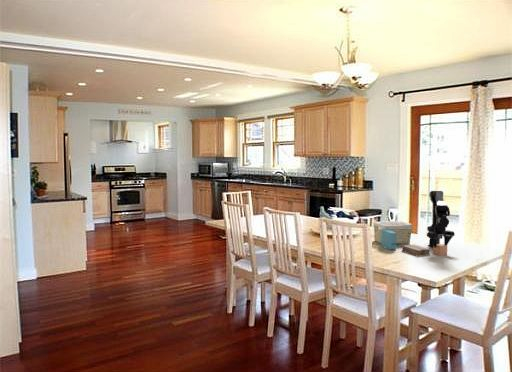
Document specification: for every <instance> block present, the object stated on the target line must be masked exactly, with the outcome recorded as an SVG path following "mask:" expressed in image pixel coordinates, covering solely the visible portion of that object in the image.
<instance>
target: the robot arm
mask: <svg viewBox="0 0 512 372" xmlns="http://www.w3.org/2000/svg"><path fill="white" fill-rule="evenodd" d="M428 195H429V196H428V197H429V200H430V202H431V203H432V214H431V215H432V217H431V218H432V219H431V220H432V221H431V222H432V223H431V224H430V225H429V226H427V228H426V229H427V231H428V232H426V238H427V237H428V239H429V240H428V241H429V243H428V244H427V247H432V248H433V246H434V248H436V246H437V244H441V239H444V240H443V241H444V245H447V246H448V244H449V243H450V241H451V239H452V238H454V237H455V232H454V231H453V230H452V231H451V230H447V228H448V225H449V224H450V220H449V219H448V217H450V215H451V212H450V207H449V206H448V204H447V203H446V202H445V201H444V191H443V190H441V189H434V190H431V191H429V194H428Z"/></svg>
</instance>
